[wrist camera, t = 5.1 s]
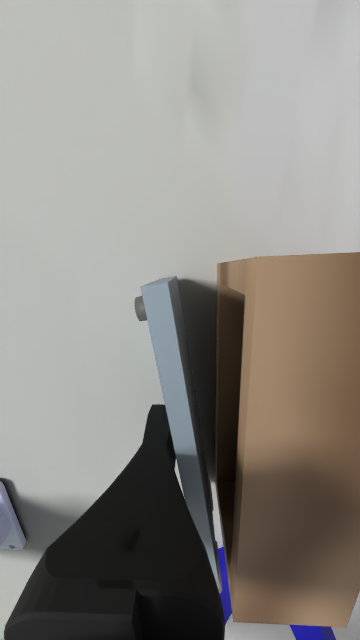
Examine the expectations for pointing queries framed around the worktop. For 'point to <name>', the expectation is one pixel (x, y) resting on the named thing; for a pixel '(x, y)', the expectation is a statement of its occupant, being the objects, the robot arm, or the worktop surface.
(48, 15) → the worktop surface
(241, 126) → the worktop surface
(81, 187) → the worktop surface
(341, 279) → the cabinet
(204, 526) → the door
